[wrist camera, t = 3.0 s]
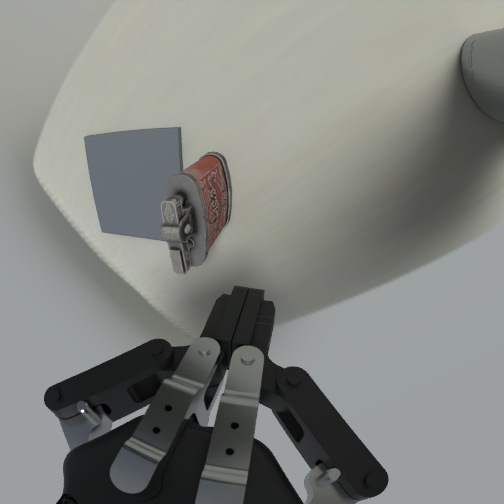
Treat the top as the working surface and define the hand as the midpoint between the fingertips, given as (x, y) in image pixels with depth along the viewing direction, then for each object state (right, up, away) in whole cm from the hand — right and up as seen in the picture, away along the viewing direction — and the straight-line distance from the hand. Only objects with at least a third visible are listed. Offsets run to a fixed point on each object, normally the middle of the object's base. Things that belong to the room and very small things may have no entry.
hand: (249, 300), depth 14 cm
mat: (-13, +10, +15) cm, 22 cm away
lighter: (-3, +9, +13) cm, 16 cm away
